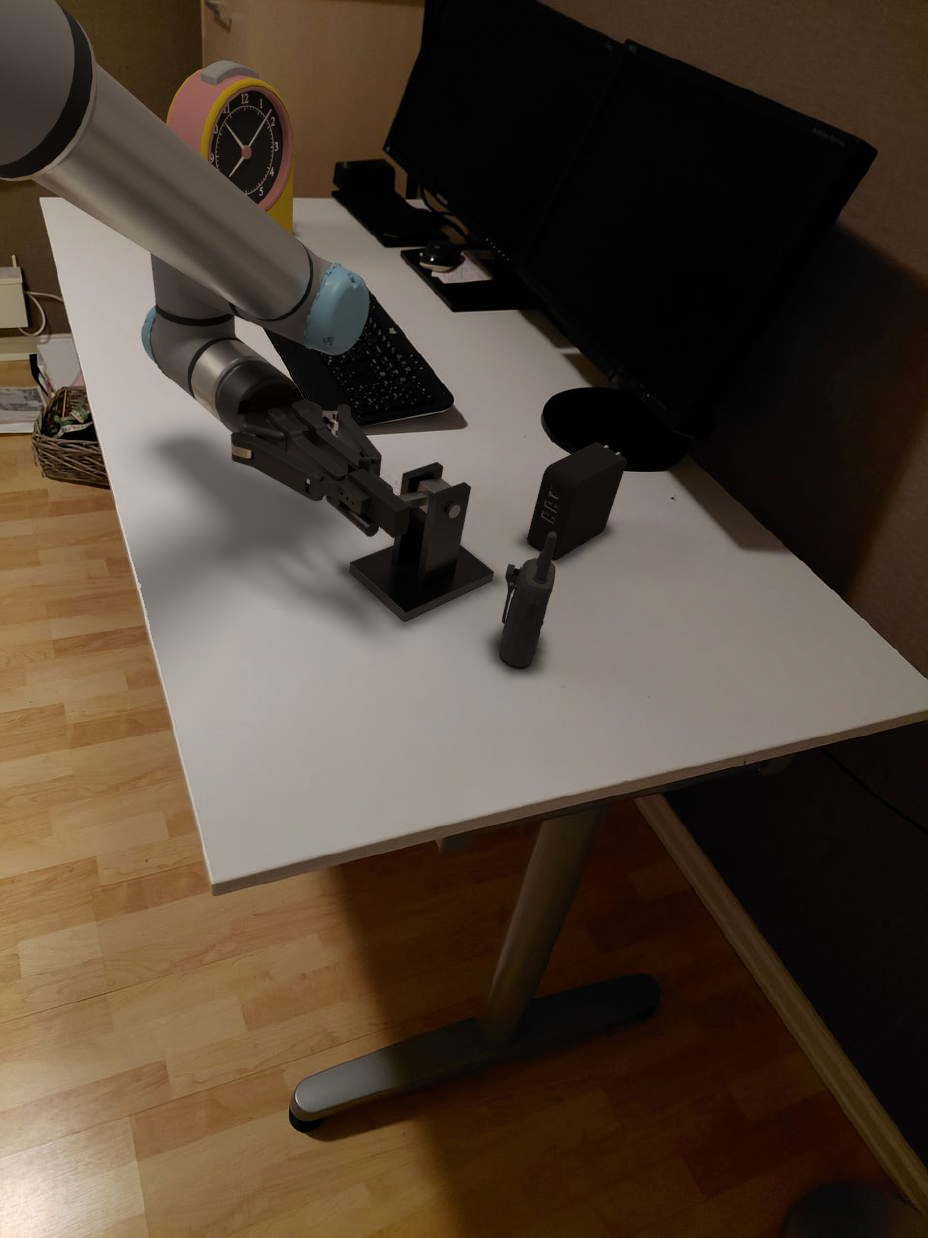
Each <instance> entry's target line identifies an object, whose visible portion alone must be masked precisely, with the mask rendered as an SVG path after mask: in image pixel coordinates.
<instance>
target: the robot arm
mask: <svg viewBox="0 0 928 1238" xmlns="http://www.w3.org/2000/svg"><path fill="white" fill-rule="evenodd" d="M95 56H96V55H95V52H94V49H93V45H92V43H91V40H90V38H89V36H88V34H87V31H86V30H85V29H84V28H83V26H82V25H81V24H80V22H79V21H78V19H76V18H75V17H74V16H73V15H72V14H71V13H70V12H69V11H67V10H66V9H65V8H64V7H63V6H62V5H61V4H60V3H59V2H58V1H57V0H0V180H3V181H8V182H21V181H28V180H32V181H34V182H35V183H37V184H39V185H40V186H42V187H44V188H45V189H47V190H48V191H50V192H51V193H54V195H57V196H58V197H60V198H61V199H62V200H65V201H66V202H67V203H69V204H71V205H73V206H74V207H76V208H78V209H79V210H81V211H82V212H84V213H85V214H87V215H88V216H90V217H92V218H94V219H95V220H97V221H99V222H100V223H101V224H102V225H104V226H106V227H108V228H110V229H111V230H113V231H115V232H117V234H119V235H121V236H123V237H124V238H126V239H127V240H129V241H131V242H133V243H134V244H136V245H137V246H139V247H141V248H142V249H144V250H145V251H146V252H149V254H150V264H151V272H152V281H153V290H154V291H153V292H154V300H155V301H154V302H155V305H154V306H153V307H152V308H151V309H150V310H149V311H148V312H147V314H146V315H145V316H146V317H145V319H144V322H143V325H142V327H141V332H140V338H141V342H142V347H143V349H144V352H145V353H146V354H147V356H148V358H149V359H150V360H151V361H152V362H153V363H154V364H155V365H156V366H157V368H158V369H159V370H160V371H161V373H162V374H163V375H164V376H165V377H166V378H168V379H169V380H171V381H172V382H173V383H175V384H176V385H177V386H178V387H179V388H181V389H182V390H183V391H184V392H185V393H186V394H188V395H189V396H190V397H191V398H192V399H194V401H196V402H197V403H199V405H201V407H203V408H204V409H205V411H207V412H208V413H209V414H211V415H212V416H213V417H214V418H215V419H216V420H218V422H220V423H221V424H223V426H224V427H225V428H226V429H227V430H228V431H229V432H231V434H230V446H231V447H230V450H231V451H230V453H231V461H232V462H233V463H237V464H239V465H243V466H247V467H250V468H254V469H255V470H257V471H259V472H261V473H262V474H264V475H266V476H267V477H269V478H271V479H273V480H275V481H277V482H278V483H280V484H282V485H284V486H285V487H287V488H289V489H291V490H293V491H294V492H296V493H297V494H299V495H301V496H303V497H305V498H307V499H309V500H310V501H312V502H321V501H322V500H323V498H324V497H326V496H330V497H332V499H331V505H330V506H332V505H333V506H337V507H339V506H340V505H341V503H342V502H343V503H345V504H346V505H347V506H348V507H349V508H351V509H352V510H353V511H354V512H356V513H358V514H363V513H364V514H365V515H366V516H367V517H369V518H370V519H371V520H372V521H373V522H374V523H376V524H377V525H378V526H379V529H381V530H382V531H384V532H385V533H386V534H387V535H388V536H390V537H391V539H394V538H395V537H397V536H400V535H402V534H405V533H407V529H408V521H409V514H410V506H409V505H408V504H407V503H405V502H404V501H403V500H402V499H400V498H399V497H398V496H397V495H398V494H396V493H394V488H393V486H392V485H390V483H388V482H387V481H385V479H384V478H382V477H381V469H382V468H381V467H382V460H383V459H382V458H383V455H382V454H381V452H380V451H379V450H378V449H377V448H376V446H375V445H374V444H373V443H372V441H371V440H370V438H369V437H368V436H367V435H366V434H365V432H364V430H362V428H361V427H360V426H359V424H358V423H357V422H356V421H355V419H354V418H353V417H352V411H351V406H350V405H348V404H345V403H341V404H338V405H337V410H333V411H332V410H323V408H322V406H320V405H319V404H318V403H315V402H313V401H310V400H308V399H306V398H305V396H304V395H303V393H302V392H301V390H300V388H299V386H298V385H297V384H296V382H294V380H292V378H290V377H289V376H287V375H286V373H284V372H283V371H281V370H280V369H278V368H277V367H276V366H274V365H273V364H271V362H270V361H268V359H266V358H265V357H263V356H262V354H260V353H258V352H257V351H256V350H254V349H253V348H252V347H250V346H249V345H248V344H247V343H245V342H244V341H242V340H241V339H240V338H239V337H238V336H237V334H236V318H239V319H241V320H243V321H245V322H249V323H252V324H254V325H255V326H258V327H261V328H264V329H266V330H268V331H270V332H272V333H274V334H277V335H279V336H281V337H283V338H286V339H288V340H291V341H293V342H295V343H298V344H300V345H301V346H304V347H305V348H307V349H308V350H311V349H312V350H315V351H318V352H322V353H324V354H327V355H330V356H339V355H341V354H344V353H346V352H348V351H349V350H350V349H351V348H352V347H353V346H354V345H355V344H356V342H357V341H358V340H359V338H360V337H361V335H362V333H363V329H364V327H365V324H366V323H367V320H368V315H369V310H370V294H369V290H368V286H367V284H366V281H365V280H364V278H363V277H362V276H361V275H360V274H358V273H357V272H354V271H352V270H351V269H348V268H346V267H344V266H342V263H340V262H332V261H329V260H326V259H324V258H322V257H320V256H318V255H317V254H315V252H313V251H312V250H311V249H310V248H309V247H307V245H305V244H304V243H303V242H301V241H300V240H299V239H298V238H297V237H295V236H294V235H293V234H292V235H291V234H290V233H289V232H288V231H287V230H286V229H284V228H283V227H282V226H281V225H280V224H279V223H278V222H277V221H275V220H274V219H273V218H272V217H271V216H270V215H269V214H267V213H266V212H265V211H264V210H263V209H262V208H261V207H259V206H258V205H257V204H256V203H255V202H254V201H253V200H252V199H250V198H249V197H248V196H247V195H246V194H245V193H244V192H242V191H241V190H240V189H239V188H238V187H237V186H236V185H234V184H233V183H232V182H231V181H230V180H229V179H228V178H227V177H225V176H224V175H223V174H222V173H221V172H220V171H219V170H217V169H216V168H215V167H214V166H213V165H212V164H211V163H209V162H208V161H207V160H206V159H205V158H204V157H203V156H202V155H200V154H199V153H198V152H197V151H196V150H195V149H194V148H192V147H191V146H190V145H189V144H188V143H187V142H186V141H184V140H183V139H182V138H181V137H180V136H179V135H178V134H177V133H175V132H174V131H173V130H172V129H171V128H170V127H169V126H167V125H166V122H164V121H163V120H162V119H161V118H160V117H159V116H157V115H156V114H155V113H154V112H153V111H151V110H150V108H148V107H147V106H146V105H145V104H144V103H142V101H140V100H139V99H138V98H137V97H136V96H135V95H133V93H131V92H130V91H129V90H128V89H127V88H125V86H123V84H121V83H120V82H119V81H117V79H116V78H115V77H114V76H112V75H111V74H109V72H107V70H105V69H104V68H103V67H102V66H100V65H99V63H97V62H96V57H95ZM329 429H330V430H331V431H330V430H329ZM308 481H309V482H308ZM333 506H332V507H333Z"/></svg>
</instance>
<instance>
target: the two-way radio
mask: <svg viewBox="0 0 928 1238" xmlns="http://www.w3.org/2000/svg"><path fill="white" fill-rule="evenodd" d="M556 538H557V535H556V533H555V532H550V533H549V534H548V536H547V539H546V542H545V545H544V548H543V550H541V551H540V553H539V554H538V557H534V558H531V559H528V560H525V561H524V563H523V565H522V566H520V567H519V568H517V567H516V564H512V563H508V564H507V567H506V571H505V575H504V576H505V577H504V578H505V582H506V585H507V593H506V598H505V602H504V607H503V611H502V615H501V623H502V624H503V629H502V636H501V640H500V647H499V648H500V649H499V655H500V657H501V658H502V659H503V660H504V661H505V662H506V663H508V665H511V666H514V667H520V668H521V667H526V666H529V665H530V664H531V662H532V660H533V658H534V657H533V656H534V655H535V653H536V649H537V647H538V642H539V640H540V637H541V630H542V628H543V625H544V620H545V617H546V613H547V607H548V604H549V601H550V597H551V594H552V592H553V589H554V586H555V581H556V572H557V571H556V570H557V569H556V566H555V563H553V561H552V559H553V557H552V556H553V551H554V547H555V543H556Z"/></svg>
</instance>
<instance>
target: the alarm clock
mask: <svg viewBox="0 0 928 1238" xmlns="http://www.w3.org/2000/svg"><path fill="white" fill-rule="evenodd" d="M166 117H167V118H166V121H165V124H166V125H167V126H169V127H170V128H171V129H172V130H173V131H174V132H175V133H177V134H178V135H179V136H180V137H181V138H182V139H183V140H184V141H186V142H187V143H188V144H189V145H190V146H191V147H192V148H194V149H195V150H196V151H197V152H198V153H199V154H200V155H202V156H203V157H204V158H205V159H206V160H207V161H208V162H209V163H211V164H212V165H213V166H214V167H215V168H216V169H217V170H219V171H220V172H221V173H222V174H223V175H224V176H225V177H227V178H228V179H229V180H230V181H231V182H232V183H233V184H234V185H236V186H237V187H238V188H239V189H240V190H241V191H242V192H244V193H245V194H246V195H247V196H248V197H249V198H250V199H252V200H253V201H254V202H255V203H256V204H257V205H258V206H259V207H261V208H262V209H263V210H264V211H265V212H266V213H267V214H269V215H270V216H271V217H272V218H273V219H274V220H275V221H277V222H278V223H279V224H280V225H281V226H282V227H283V228H284V229H286V230H287V231H288V232H289V233H290V234H291V235H292V236H293V230H294V229H293V225H294V223H293V222H294V174H295V173H294V171H295V140H294V139H295V138H294V128H293V124H292V120H291V115H290V112H289V110H288V108H287V106H286V104H285V101H284V100H283V97H282V96H280V94H279V93H278V92H277V90H275V88H274V87H273V86H272V85H270V84H268V83H267V82H265V81H263V80H261V79H260V74H259V73H258V72H257V71H256V70H254V69H253V68H251V67H249V66H245V65H244V64H240V63H237V62H235V61H231V60H225V59H224V60H223V59H222V60H219V61H218V60H217V61H215V62H213V63H211V64H209V65H208V66H207V67H204V68H201V69H198V70H197V71H194V73H192V74H191V75H189V76H188V77H187V78H186V79H185V80H184V82H183V83H182V84H181V85H180V87H179V88H178V90H176V92H175V94H174V97H173V99H172V102H171V104H170V106H169V108H168V112H167V116H166Z"/></svg>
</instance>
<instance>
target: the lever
mask: <svg viewBox="0 0 928 1238" xmlns="http://www.w3.org/2000/svg"><path fill="white" fill-rule="evenodd" d="M452 486H453V485H451V484H450V483H448V482H447V481H446V480H444V479H443V477H442V478H436V479H430V480H425V481H420V482H419V485H418V489H417V492H412V493H407V494H402V495H400V494H396V495H397V496H398V497H399V498H400V499H402V500H403V501H404V502H405V503H407V504H408V505H409V506H410V509H411V508H415V507H419V508H421V509H422V510H423V511H424V512H426V513H427V509H428V503H429V496H430V494H433V493H436V492H438V491H441V490H444V489H446V488H449V487H452ZM331 499H332V497H330V496H325V502H327V503H328V504H329V505H330V506H331V507H333V509H335V510H336V511H337V512H338V513H339V514H341V515H342V516H343V517H344V518H346V520H348V522H349V523H351V524H352V525H353V526H354V527H355V528H357V529H358V530H359V531H360V532H362V533H363V534H364V535H365V536H366V537H368V538H372V537H374V536H375V535H376V534H377V533H378V532H379V530H380V527H379V526H378V525H377V524H376V523H374V522H373V521H372V520H371V519H370V518H369V517H367V516H366V515H365V514H364V513H363V514H358V513H356V512H354V511H353V510H352V509H351V508H349V507H348V506H347V505H346V504H345V503H343V502H342V503H341V505H340V506H339V507H337V506H333V505H331Z"/></svg>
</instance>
